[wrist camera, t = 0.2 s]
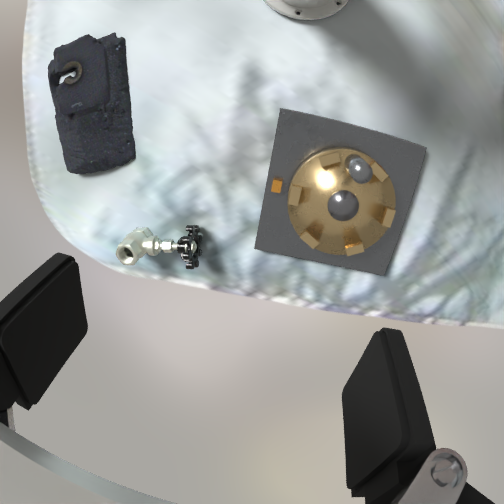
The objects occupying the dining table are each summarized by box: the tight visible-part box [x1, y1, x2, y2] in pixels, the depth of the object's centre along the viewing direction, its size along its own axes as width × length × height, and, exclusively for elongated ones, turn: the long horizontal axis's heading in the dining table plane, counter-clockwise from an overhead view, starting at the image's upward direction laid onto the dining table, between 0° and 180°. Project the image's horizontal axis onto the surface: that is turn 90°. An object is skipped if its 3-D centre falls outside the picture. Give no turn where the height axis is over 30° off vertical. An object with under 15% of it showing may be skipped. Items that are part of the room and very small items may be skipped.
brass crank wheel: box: [288, 147, 396, 256], centre depth 38 cm, size 14×14×8 cm
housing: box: [254, 108, 426, 276], centre depth 42 cm, size 20×20×3 cm
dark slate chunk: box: [48, 33, 135, 174], centre depth 39 cm, size 15×22×5 cm
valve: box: [116, 225, 202, 269], centre depth 47 cm, size 7×7×12 cm
